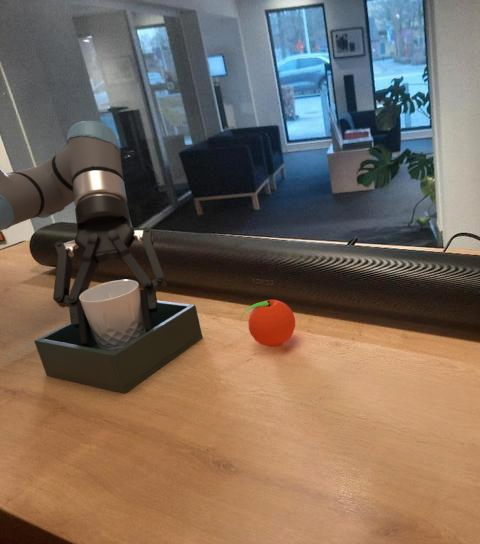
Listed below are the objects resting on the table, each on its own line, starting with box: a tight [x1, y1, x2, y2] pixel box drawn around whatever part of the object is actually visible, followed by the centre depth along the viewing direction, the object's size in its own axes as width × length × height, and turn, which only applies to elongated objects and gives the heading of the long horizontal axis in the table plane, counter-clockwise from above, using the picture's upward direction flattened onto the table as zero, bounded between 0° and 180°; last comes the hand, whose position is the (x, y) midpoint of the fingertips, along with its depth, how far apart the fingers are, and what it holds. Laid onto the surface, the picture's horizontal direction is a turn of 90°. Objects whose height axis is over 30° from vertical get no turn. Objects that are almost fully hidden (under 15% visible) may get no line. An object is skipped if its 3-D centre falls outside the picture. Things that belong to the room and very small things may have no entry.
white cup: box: [79, 279, 146, 352], centre depth 73 cm, size 8×8×10 cm
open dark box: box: [33, 299, 204, 394], centre depth 74 cm, size 16×16×6 cm
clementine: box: [239, 299, 296, 348], centre depth 74 cm, size 8×7×7 cm
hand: (118, 339), depth 71 cm, fingers closed on white cup, 8 cm apart
